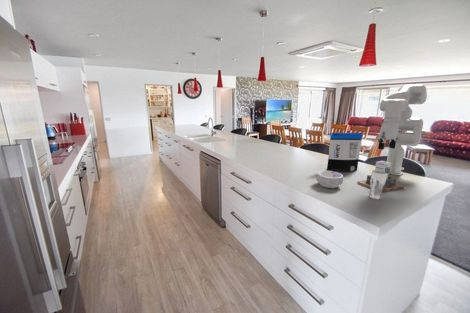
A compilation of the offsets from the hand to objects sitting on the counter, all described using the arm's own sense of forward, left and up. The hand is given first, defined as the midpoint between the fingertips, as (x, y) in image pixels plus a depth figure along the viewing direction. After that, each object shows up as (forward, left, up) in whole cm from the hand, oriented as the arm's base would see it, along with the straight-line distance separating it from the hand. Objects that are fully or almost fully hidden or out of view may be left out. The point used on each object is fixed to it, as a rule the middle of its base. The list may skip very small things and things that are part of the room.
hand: (386, 148), depth 130 cm
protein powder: (-4, -35, -25) cm, 43 cm away
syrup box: (0, 0, -23) cm, 23 cm away
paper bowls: (+32, -11, -25) cm, 41 cm away
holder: (+1, 0, -24) cm, 24 cm away
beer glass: (+21, +12, -25) cm, 34 cm away
